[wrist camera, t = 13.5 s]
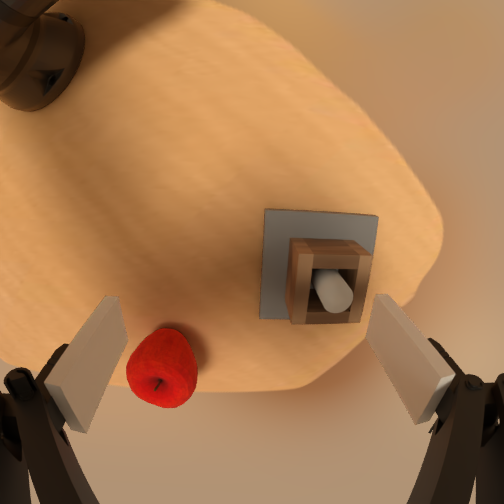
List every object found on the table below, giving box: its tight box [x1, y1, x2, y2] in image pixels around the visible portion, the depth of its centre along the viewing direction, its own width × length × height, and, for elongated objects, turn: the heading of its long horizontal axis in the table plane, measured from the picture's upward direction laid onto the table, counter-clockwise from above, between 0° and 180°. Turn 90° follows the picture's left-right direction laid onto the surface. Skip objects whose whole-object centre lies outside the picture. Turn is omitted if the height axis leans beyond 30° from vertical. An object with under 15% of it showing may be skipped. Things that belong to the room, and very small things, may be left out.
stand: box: [259, 209, 379, 319], centre depth 32 cm, size 14×14×9 cm
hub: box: [285, 238, 373, 324], centre depth 33 cm, size 8×8×6 cm
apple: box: [126, 328, 197, 408], centre depth 35 cm, size 9×9×11 cm
